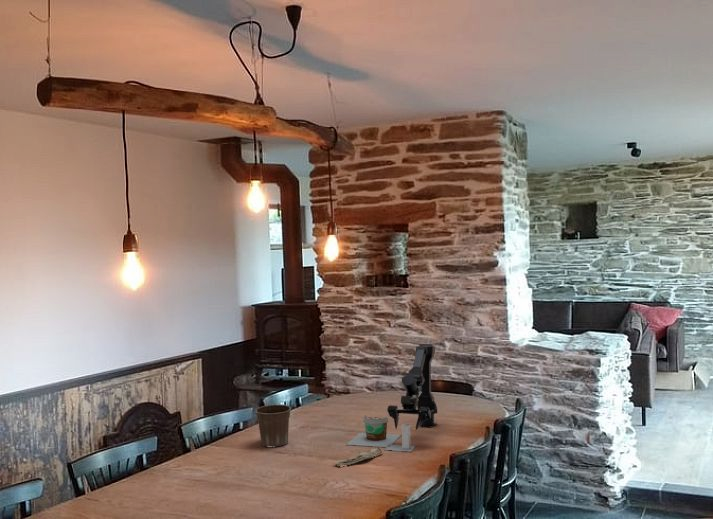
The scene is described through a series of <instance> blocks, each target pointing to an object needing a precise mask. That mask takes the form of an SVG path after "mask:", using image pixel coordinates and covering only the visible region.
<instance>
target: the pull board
mask: <svg viewBox="0 0 713 519" xmlns="http://www.w3.org/2000/svg"><path fill="white" fill-rule="evenodd" d="M400 428H401V434H393V433H386V439H384V440H380V441H371V440H368V439H367V437H366V432H359V433H358V434H357V435H355V437H353V438H352V439H351V440H349V441H348V442H347V443H346V444H345V446H352V445H356V447H357V446H358V447H368V446H369V448H370V446H372V447H371V448H383V447H386V448H384V449H383V450H384V451H385V450H392V451H391V452H401V451H407V452H406V453H412V451H413V450H415V448H416V447H417V446H416V445H412V444H411V424H410V423H402V424H401V427H400ZM399 438H401V444H394V443H395V442H396V441H397V440H398V439H399Z"/></svg>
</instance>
